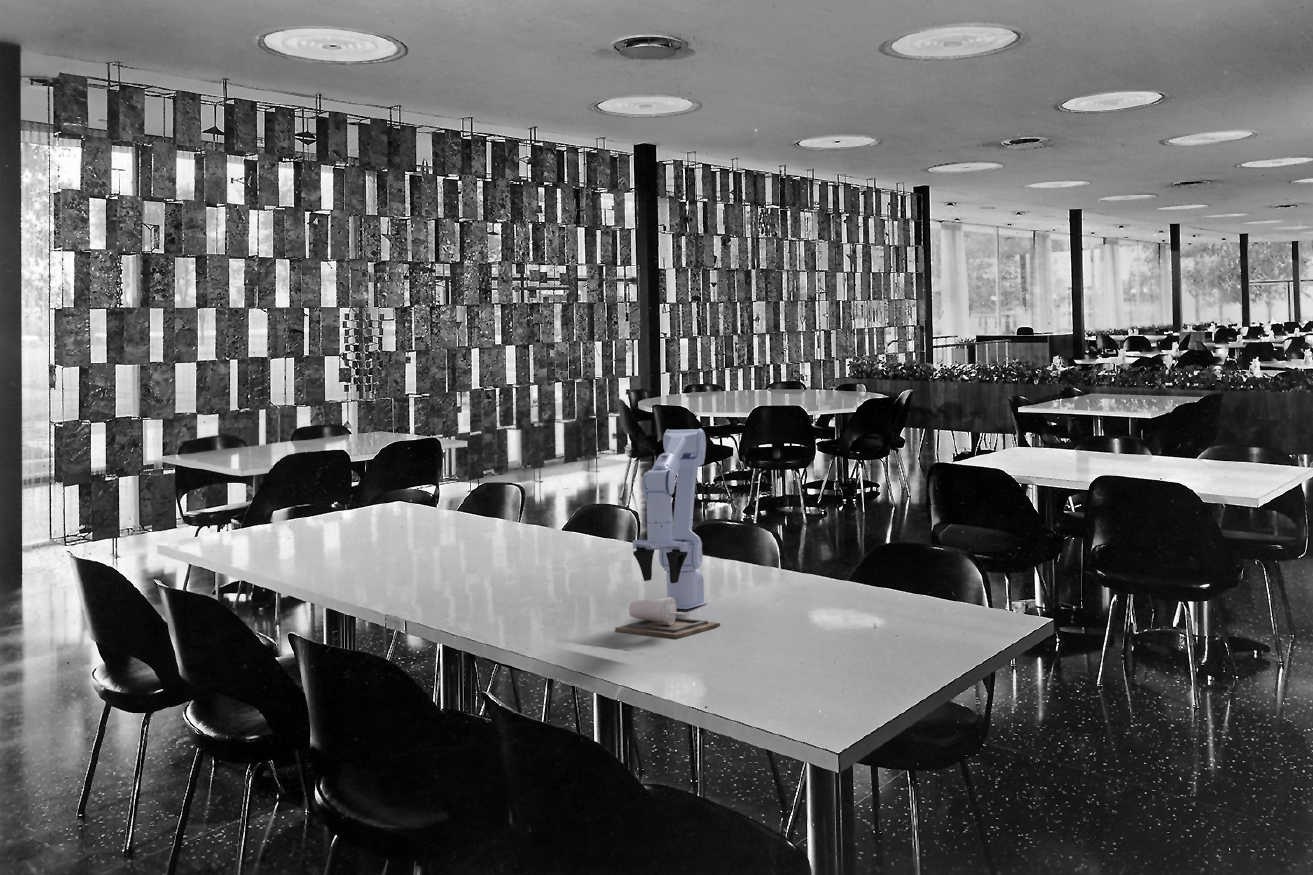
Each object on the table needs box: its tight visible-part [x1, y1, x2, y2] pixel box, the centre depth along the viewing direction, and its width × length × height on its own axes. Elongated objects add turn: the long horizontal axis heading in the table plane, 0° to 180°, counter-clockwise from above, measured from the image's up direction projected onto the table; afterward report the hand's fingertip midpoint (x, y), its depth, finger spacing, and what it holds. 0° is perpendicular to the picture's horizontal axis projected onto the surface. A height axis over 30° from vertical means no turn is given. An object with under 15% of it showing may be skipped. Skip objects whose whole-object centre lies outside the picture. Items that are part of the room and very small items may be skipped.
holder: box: [614, 617, 721, 639], centre depth 238 cm, size 17×17×1 cm
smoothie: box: [628, 596, 690, 625], centre depth 239 cm, size 6×6×14 cm
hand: (660, 581), depth 241 cm, fingers open, 7 cm apart
